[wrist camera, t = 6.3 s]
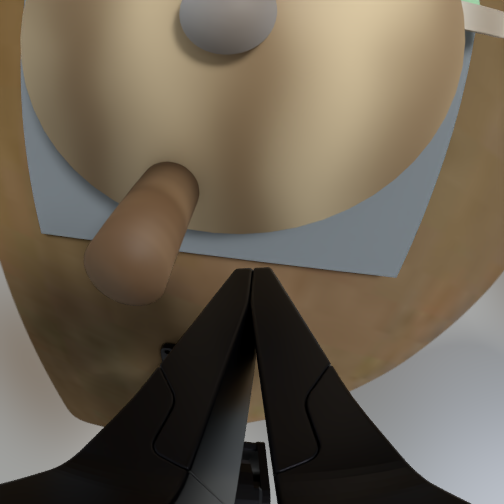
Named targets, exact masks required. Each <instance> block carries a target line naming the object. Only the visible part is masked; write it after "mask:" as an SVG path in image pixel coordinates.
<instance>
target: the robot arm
mask: <svg viewBox="0 0 504 504" xmlns="http://www.w3.org/2000/svg"><path fill="white" fill-rule="evenodd" d="M256 355H257V362H258V370H259V377H260V384H261V391H262V399H263V406H264V413H265V420H266V427H267V434H268V441H269V448H270V455H271V462H272V469H273V476H274V483H275V489H276V496H277V503H278V504H471V503H469V502H467V501H465V500H463V499H461V498H459V497H457V496H455V495H453V494H451V493H449V492H447V491H445V490H443V489H441V488H439V487H437V486H436V485H434V484H432V483H430V482H429V481H427V480H426V479H425V478H423V477H422V476H421V475H420V474H418V473H417V472H416V471H415V470H414V469H413V468H412V467H411V466H410V465H409V464H408V463H407V462H406V461H405V460H404V458H403V457H402V456H401V455H400V454H399V453H398V451H397V450H396V449H395V448H394V447H393V446H392V444H391V443H390V442H389V441H388V440H387V439H386V437H385V436H384V435H383V434H382V433H381V432H380V430H379V429H378V428H377V427H376V426H375V424H374V423H373V422H372V421H371V420H370V418H369V417H368V416H367V415H366V414H365V412H364V411H363V410H362V408H361V407H360V406H359V404H358V403H357V402H356V401H355V399H354V398H353V397H352V395H351V394H350V392H349V391H348V389H347V388H346V386H345V385H344V383H343V382H342V380H341V379H340V377H339V376H338V374H337V372H336V371H335V369H334V368H333V366H330V365H331V363H330V361H329V360H328V358H327V357H326V355H325V353H324V352H323V350H322V349H321V347H320V345H319V344H318V342H317V341H316V339H315V337H314V336H313V334H312V333H311V331H310V329H309V328H308V326H307V325H306V323H305V321H304V320H303V318H302V317H301V315H300V313H299V312H298V310H297V309H296V307H295V305H294V304H293V302H292V301H291V299H290V297H289V296H288V294H287V293H286V291H285V289H284V288H283V286H282V285H281V283H280V282H279V280H278V278H277V277H276V275H275V274H274V272H273V270H272V269H271V268H269V267H264V268H255V269H254V270H252V269H251V268H242V269H236V270H234V272H233V273H232V274H231V275H230V277H229V278H228V279H227V281H226V282H225V283H224V284H223V286H222V287H221V288H220V289H219V291H218V292H217V293H216V294H215V296H214V297H213V298H212V300H211V301H210V302H209V303H208V305H207V306H206V307H205V308H204V310H203V311H202V312H201V313H200V315H199V316H198V317H197V319H196V320H195V321H194V322H193V324H192V325H191V326H190V327H189V329H188V330H187V331H186V332H185V334H184V335H183V336H182V338H181V339H180V340H179V341H178V343H177V344H176V345H174V344H163V345H162V348H161V356H162V363H161V364H160V368H159V367H158V368H157V369H156V370H155V372H154V373H153V374H152V375H151V377H150V378H149V379H148V380H147V382H146V383H145V384H144V385H143V386H142V388H141V389H140V390H139V391H138V392H137V394H136V395H135V396H134V397H133V398H132V399H131V400H130V401H129V402H128V403H127V405H126V406H125V407H124V408H123V409H122V410H121V411H120V412H119V413H118V414H117V415H116V416H115V417H114V418H113V419H112V420H111V421H110V422H109V423H108V424H107V425H106V426H105V427H104V428H103V429H102V430H101V431H100V432H99V433H98V434H97V435H96V436H95V437H94V438H93V439H92V440H91V441H90V442H89V443H88V444H87V445H86V446H85V447H84V448H83V449H82V450H81V451H80V452H78V453H77V454H76V455H75V456H74V457H72V458H71V459H70V460H68V461H67V462H65V463H64V464H62V465H60V466H58V467H56V468H54V469H51V470H48V471H45V472H41V473H38V474H35V475H31V476H28V477H24V478H21V479H17V480H14V481H10V482H6V483H3V484H0V504H270V485H269V476H268V468H267V458H266V449H265V443H264V442H256V443H251V442H244V438H245V431H246V424H247V418H248V411H249V404H250V397H251V390H252V383H253V376H254V369H255V360H256Z"/></svg>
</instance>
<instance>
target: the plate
mask: <svg viewBox="0 0 504 504" xmlns="http://www.w3.org/2000/svg"><path fill="white" fill-rule="evenodd" d="M461 1H465V2H469V3H473V4H477V5H480V3H479V0H461ZM25 2H26V0H25ZM25 2H24V7H25ZM474 36H475V32H470V31H465V49H464V58H463V67H462V71H461V75H460V79H459V83H458V87H457V90H456V94H455V96H454V98H453V101H452V103H451V106H450V108H449V110H448V112H447V115H446V117H445V119H444V120H443V122H442V124H441V125H440V127H439V129H438V130H437V132H436V134H435V135H434V137H433V138H432V140H431V141H430V143H429V144H428V145H427V146H426V148H425V149H424V150H423V151H422V152H421V154H420V155H419V156H418V157H417V159H416V160H415V161H414V162H413V163H412V164H411V165H410V166H409V167H408V168H407V169H405V170H404V171H403V172H402V173H401V174H400V175H399V176H398V177H397V178H396V179H395V180H393V181H392V182H391V183H389V184H388V185H387V186H385V187H384V188H382V189H381V190H380V191H378V192H377V193H376V194H374V195H373V196H371V197H369V198H368V199H366V200H364V201H362V202H360V203H359V204H357V205H355V206H353V207H351V208H350V209H348V210H345V211H343V212H340V213H338V214H336V215H333V216H331V217H328V218H326V219H324V220H321V221H317V222H314V223H310V224H307V225H303V226H300V227H296V228H291V229H285V230H279V231H274V232H267V233H251V234H227V233H211V232H204V231H198V230H191V229H187V231H186V233H185V236H184V239H183V241H182V244H181V247H180V249H179V251H180V252H188V253H196V254H204V255H212V256H220V257H228V258H236V259H244V260H252V261H260V262H268V263H277V264H285V265H293V266H301V267H310V268H318V269H327V270H335V271H344V272H352V273H361V274H369V275H378V276H387V277H397V275H398V273H399V271H400V269H401V266H402V264H403V262H404V260H405V258H406V255H407V253H408V251H409V249H410V246H411V244H412V242H413V240H414V237H415V235H416V233H417V230H418V228H419V225H420V223H421V220H422V218H423V215H424V213H425V210H426V208H427V205H428V203H429V200H430V197H431V195H432V192H433V189H434V187H435V184H436V181H437V178H438V175H439V173H440V170H441V167H442V164H443V161H444V158H445V155H446V151H447V148H448V145H449V142H450V139H451V135H452V132H453V129H454V125H455V122H456V118H457V114H458V111H459V107H460V103H461V99H462V95H463V91H464V87H465V82H466V78H467V73H468V69H469V64H470V59H471V53H472V48H473V42H474ZM21 97H22V114H23V126H24V136H25V145H26V153H27V160H28V167H29V174H30V180H31V186H32V191H33V196H34V201H35V206H36V211H37V216H38V220H39V225H40V229H41V233H43V234H50V235H58V236H65V237H73V238H80V239H88V240H93V238H94V237H95V235H96V234H97V233H98V231H99V230H100V229H101V227H102V226H103V224H104V223H105V222H106V220H107V219H108V218H109V216H110V215H111V214H112V213H113V211H114V210H115V209H116V207H117V206H118V205H119V203H118V202H116V201H114V200H112V199H111V198H109V197H108V196H107V195H105V194H104V193H102V192H101V191H99V190H98V189H96V188H95V187H94V186H92V185H91V184H90V183H89V182H88V181H87V180H85V179H84V178H83V177H82V176H81V175H80V174H79V173H78V172H76V171H75V170H74V169H73V168H72V167H71V165H70V164H69V163H68V162H67V161H66V160H65V159H64V157H63V156H62V155H61V154H60V153H59V152H58V150H57V149H56V148H55V146H54V145H53V143H52V142H51V140H50V139H49V137H48V136H47V134H46V133H45V131H44V129H43V127H42V125H41V123H40V121H39V119H38V117H37V115H36V113H35V111H34V109H33V106H32V103H31V100H30V97H29V94H28V91H27V88H26V84H25V79H24V74H23V68H22V62H21Z"/></svg>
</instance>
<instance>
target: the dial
mask: <svg viewBox="0 0 504 504" xmlns="http://www.w3.org/2000/svg"><path fill="white" fill-rule="evenodd" d="M465 31H470V32H475V33H480V34H484V35H489V36H493V37H499V38H504V12H502V11H499V10H495V9H492V8H488V7H485V6H481V5H477V4H473V3H469V2H465V1H461V0H26V2H25V7H24V11H23V17H22V27H21V62H22V68H23V74H24V79H25V84H26V88H27V91H28V94H29V97H30V100H31V103H32V106H33V109H34V111H35V113H36V115H37V117H38V119H39V121H40V123H41V125H42V127H43V129H44V131H45V133H46V134H47V136H48V137H49V139H50V140H51V142H52V143H53V145H54V146H55V148H56V149H57V150H58V152H59V153H60V154H61V155H62V156H63V157H64V159H65V160H66V161H67V162H68V163H69V164H70V165H71V167H72V168H73V169H74V170H75V171H76V172H78V173H79V174H80V175H81V176H82V177H83V178H84V179H85V180H87V181H88V182H89V183H90V184H91V185H92V186H94V187H95V188H96V189H98V190H99V191H101V192H102V193H104V194H105V195H107V196H108V197H109V198H111V199H112V200H114V201H116V202H118V203H119V205H118V206H117V207H116V209H115V210H114V211H113V213H112V214H111V215H110V216H109V218H108V219H107V220H106V222H105V223H104V224H103V226H102V227H101V229H100V230H99V231H98V233H97V234H96V235H95V237H94V238H93V240H92V241H91V242H90V244H89V245H88V247H87V249H86V251H85V254H84V266H85V270H86V273H87V275H88V277H89V278H90V280H91V282H92V283H93V284H94V285H95V287H96V288H97V289H98V290H99V291H101V292H102V293H103V294H104V295H106V296H107V297H109V298H111V299H113V300H115V301H117V302H119V303H123V304H126V305H132V306H142V305H147V304H151V303H153V302H155V301H157V300H158V299H159V298H160V297H161V296H162V295H163V293H164V291H165V289H166V286H167V283H168V280H169V277H170V275H171V272H172V269H173V266H174V263H175V261H176V258H177V255H178V252H179V249H180V247H181V244H182V241H183V239H184V236H185V233H186V231H187V229H191V230H198V231H204V232H211V233H227V234H251V233H267V232H274V231H279V230H285V229H291V228H296V227H300V226H303V225H307V224H310V223H314V222H317V221H321V220H324V219H326V218H328V217H331V216H333V215H336V214H338V213H340V212H343V211H345V210H348V209H350V208H351V207H353V206H355V205H357V204H359V203H360V202H362V201H364V200H366V199H368V198H369V197H371V196H373V195H374V194H376V193H377V192H378V191H380V190H381V189H382V188H384V187H385V186H387V185H388V184H389V183H391V182H392V181H393V180H395V179H396V178H397V177H398V176H399V175H400V174H401V173H402V172H403V171H404V170H405V169H407V168H408V167H409V166H410V165H411V164H412V163H413V162H414V161H415V160H416V159H417V157H418V156H419V155H420V154H421V152H422V151H423V150H424V149H425V148H426V146H427V145H428V144H429V143H430V141H431V140H432V138H433V137H434V135H435V134H436V132H437V130H438V129H439V127H440V125H441V124H442V122H443V120H444V119H445V117H446V115H447V112H448V110H449V108H450V106H451V103H452V101H453V98H454V96H455V94H456V90H457V87H458V83H459V79H460V75H461V71H462V67H463V58H464V49H465Z"/></svg>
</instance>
